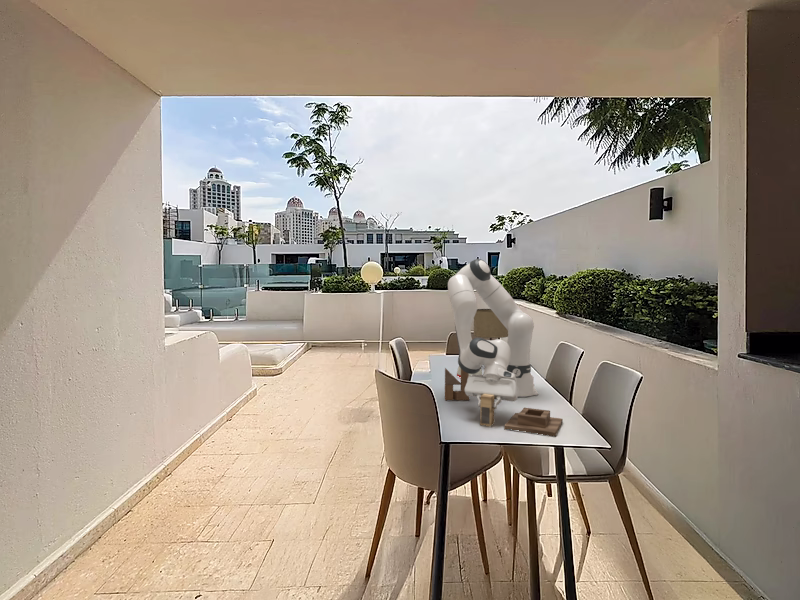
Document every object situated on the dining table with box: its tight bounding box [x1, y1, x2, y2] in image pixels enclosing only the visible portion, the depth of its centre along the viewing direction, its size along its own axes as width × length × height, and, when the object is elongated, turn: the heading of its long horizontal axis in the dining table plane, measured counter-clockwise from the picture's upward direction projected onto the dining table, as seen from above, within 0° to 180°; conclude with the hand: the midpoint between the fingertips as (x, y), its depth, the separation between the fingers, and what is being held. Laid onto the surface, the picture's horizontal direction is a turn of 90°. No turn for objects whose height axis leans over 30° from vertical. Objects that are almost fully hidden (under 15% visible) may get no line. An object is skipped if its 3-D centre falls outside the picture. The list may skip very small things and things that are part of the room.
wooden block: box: [444, 367, 470, 401], centre depth 220 cm, size 4×11×18 cm, turn 90°
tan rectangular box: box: [479, 394, 496, 427], centre depth 185 cm, size 5×4×11 cm
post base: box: [503, 407, 564, 437], centre depth 183 cm, size 18×18×5 cm
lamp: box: [473, 308, 508, 367], centre depth 289 cm, size 20×20×35 cm
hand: (487, 407), depth 185 cm, fingers closed on tan rectangular box, 4 cm apart
